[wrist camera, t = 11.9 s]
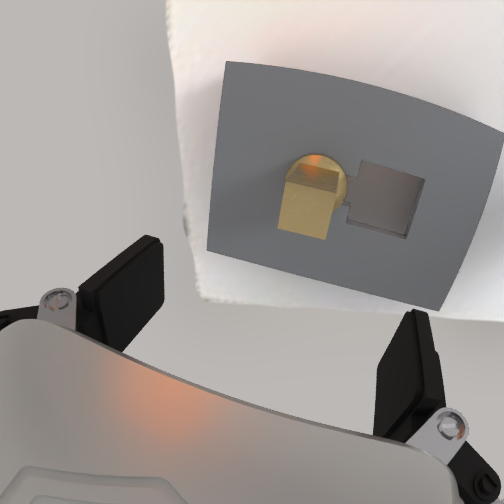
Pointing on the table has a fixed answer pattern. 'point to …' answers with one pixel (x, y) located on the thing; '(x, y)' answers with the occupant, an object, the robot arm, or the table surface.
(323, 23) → the table surface
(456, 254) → the keyhole board
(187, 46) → the table surface
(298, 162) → the brass peg
